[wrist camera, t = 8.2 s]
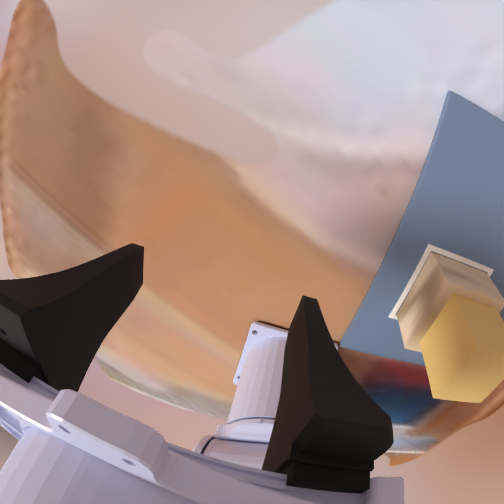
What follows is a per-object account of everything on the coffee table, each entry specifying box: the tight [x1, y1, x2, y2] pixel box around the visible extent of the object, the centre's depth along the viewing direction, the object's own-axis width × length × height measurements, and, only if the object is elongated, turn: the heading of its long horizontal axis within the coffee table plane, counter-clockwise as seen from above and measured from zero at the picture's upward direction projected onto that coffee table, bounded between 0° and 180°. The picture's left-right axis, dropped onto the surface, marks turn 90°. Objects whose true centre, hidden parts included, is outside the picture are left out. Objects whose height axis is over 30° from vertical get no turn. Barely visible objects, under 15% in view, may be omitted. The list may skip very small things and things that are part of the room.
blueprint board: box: [340, 91, 504, 366], centre depth 20 cm, size 22×16×1 cm
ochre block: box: [419, 293, 504, 403], centre depth 16 cm, size 4×4×5 cm
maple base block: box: [396, 252, 504, 352], centre depth 20 cm, size 6×6×4 cm
